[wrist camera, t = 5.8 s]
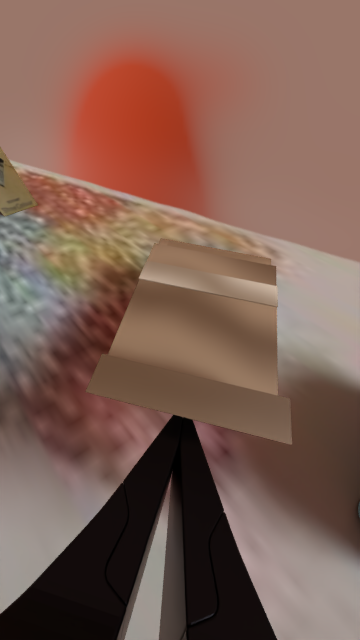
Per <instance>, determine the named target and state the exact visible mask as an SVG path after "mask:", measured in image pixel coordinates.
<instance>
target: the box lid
mask: <svg viewBox="0 0 360 640" xmlns="http://www.w3.org/2000/svg"><path fill="white" fill-rule="evenodd" d="M277 307H278V299H277V286H276V266H272V265H267V264H262V263H257V262H251V261H246V260H241V259H235V258H230V257H225V256H220V255H214V254H209V253H204V252H198V251H193V250H188V249H183V248H177V247H172V246H167V245H161V244H156V243H154V245H153V248H152V250H151V253H150V255H149V257H148V260H146V262H145V265H144V267H143V270H142V272H141V274H140V277H139V281H138V284H137V286H136V288H135V291H134V293H133V295H132V298H131V300H130V303H129V305H128V307H127V310H126V312H125V315H124V317H123V319H122V322H121V324H120V327H119V329H118V331H117V334H116V336H115V338H114V341H113V343H112V346H111V348H110V350H109V353H108V355H106V354H102V355H101V357H100V360H99V362H98V364H97V366H96V369H95V371H94V373H93V376H92V378H91V380H90V383H89V385H88V387H87V390H86V392H88V393H91V394H95V395H99V396H103V397H107V398H110V399H114V400H118V401H122V402H126V403H130V404H134V405H138V406H142V407H145V408H149V409H153V410H157V411H161V412H165V413H169V414H173V415H177V416H181V417H185V418H189V419H192V420H196V421H200V422H204V423H208V424H212V425H215V426H219V427H223V428H227V429H231V430H235V431H239V432H243V433H247V434H251V435H254V436H258V437H262V438H266V439H270V440H274V441H278V442H282V443H286V444H290V445H292V430H291V406H290V398H286V397H282V396H278V372H277Z"/></svg>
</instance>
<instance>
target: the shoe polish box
mask: <svg viewBox="0 0 360 640" xmlns="http://www.w3.org/2000/svg"><path fill="white" fill-rule="evenodd" d="M36 205H37V203H36V202H35V200H34V198H33V197H32V195H31V194H30V192H29V191H28V189H27V188H26V186H25V184H24V183H23V181H22V180H21V178H20V177H19V175H18V174H17V172H16V170H15V169H14V167H13V166H12V164H11V163H10V161H9V160H8V158H7V157H6V155H5V153H4V152H3V150H2V149H1V147H0V212H1V213H2V214H3V215H4V216H7V215H10V214H13V213H16V212H19V211H22V210H25V209H28V208H31V207H34V206H36Z"/></svg>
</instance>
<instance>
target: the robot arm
mask: <svg viewBox="0 0 360 640" xmlns="http://www.w3.org/2000/svg"><path fill="white" fill-rule="evenodd" d="M171 474H172V477H171ZM170 478H171V488H170V502H169V515H168V528H167V541H166V554H165V567H164V580H163V593H162V606H161V619H160V632H159V640H277V638H276V636H275V634H274V631H273V629H272V627H271V624H270V622H269V620H268V618H267V615H266V613H265V611H264V608H263V606H262V604H261V602H260V599H259V597H258V595H257V592H256V590H255V588H254V586H253V583H252V581H251V579H250V576H249V574H248V571H247V569H246V567H245V564H244V562H243V559H242V557H241V555H240V552H239V550H238V547H237V544H236V542H235V539H234V536H233V534H232V531H231V528H230V525H229V523H228V520H227V517H226V514H225V513H224V509H223V506H222V503H221V500H220V497H219V494H218V491H217V488H216V486H215V483H214V480H213V477H212V474H211V471H210V468H209V466H208V463H207V460H206V457H205V454H204V451H203V448H202V445H201V443H200V440H199V437H198V434H197V431H196V428H195V425H194V423H193V420H192V419H189V418H185V417H183V418H182V417H181V416H177V415H173V416H172V417H171V419H170V420H169V421H168V423H167V424H166V425H165V427H164V428H163V429H162V431H161V432H160V433H159V434H158V436H157V437H156V438H155V440H154V441H153V442H152V444H151V445H150V446H149V448H148V449H147V450H146V452H145V453H144V454H143V456H142V457H141V458H140V460H139V461H138V462H137V464H136V465H135V466H134V467H133V469H132V470H131V471H130V473H129V474H128V475H127V477H126V478H125V479H124V481H123V483H121V484H120V486H119V487H118V488H117V490H116V491H115V492H114V494H113V495H112V496H111V497H110V499H109V500H108V501H107V502H106V504H105V505H104V506H103V507H102V509H101V510H100V511H99V512H98V513H97V514H96V516H95V517H94V518H93V519H92V520H91V521H90V522H89V523H88V525H87V526H86V527H85V528H84V529H83V530H82V531H81V532H80V533H79V534H78V536H77V537H76V538H75V539H74V540H73V541H72V542H71V543H70V544H69V545H68V546H67V547H66V548H65V550H64V551H63V552H62V553H61V554H60V555H59V556H58V557H57V558H56V559H55V560H54V561H53V562H52V564H51V565H50V566H49V567H48V568H47V569H46V570H45V571H44V572H43V573H42V574H41V575H40V576H39V578H38V579H37V580H36V581H35V582H34V583H33V584H32V585H31V586H30V587H29V588H28V589H27V590H26V591H25V592H24V593H23V594H22V595H21V596H20V597H19V598H18V599H17V600H15V601H14V602H13V603H12V604H11V605H10V606H9V607H8V608H7V609H5V610H4V611H3V612H2V613H1V614H0V640H124V639H125V635H126V632H127V628H128V625H129V621H130V618H131V614H132V611H133V607H134V604H135V600H136V597H137V593H138V590H139V586H140V583H141V579H142V576H143V573H144V569H145V566H146V562H147V559H148V555H149V552H150V548H151V545H152V541H153V538H154V534H155V531H156V527H157V524H158V520H159V517H160V513H161V510H162V506H163V503H164V499H165V496H166V493H167V489H168V486H169V482H170Z"/></svg>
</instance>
